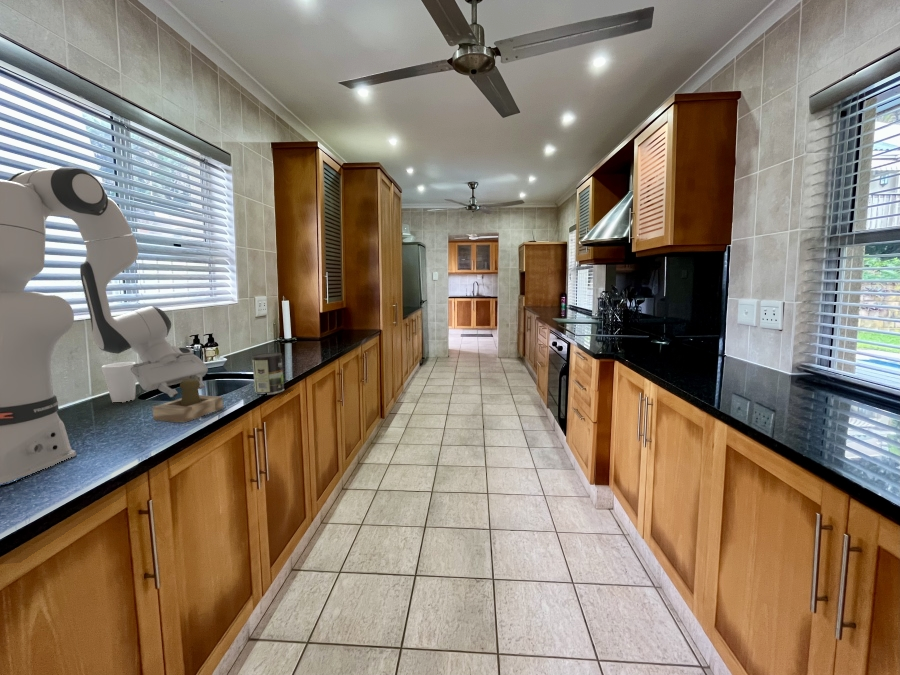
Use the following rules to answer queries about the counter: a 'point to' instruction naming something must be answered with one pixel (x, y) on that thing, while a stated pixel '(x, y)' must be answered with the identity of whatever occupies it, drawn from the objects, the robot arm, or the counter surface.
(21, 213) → the robot arm
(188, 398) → the cork
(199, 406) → the block
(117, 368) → the foam cup
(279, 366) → the coffee can
